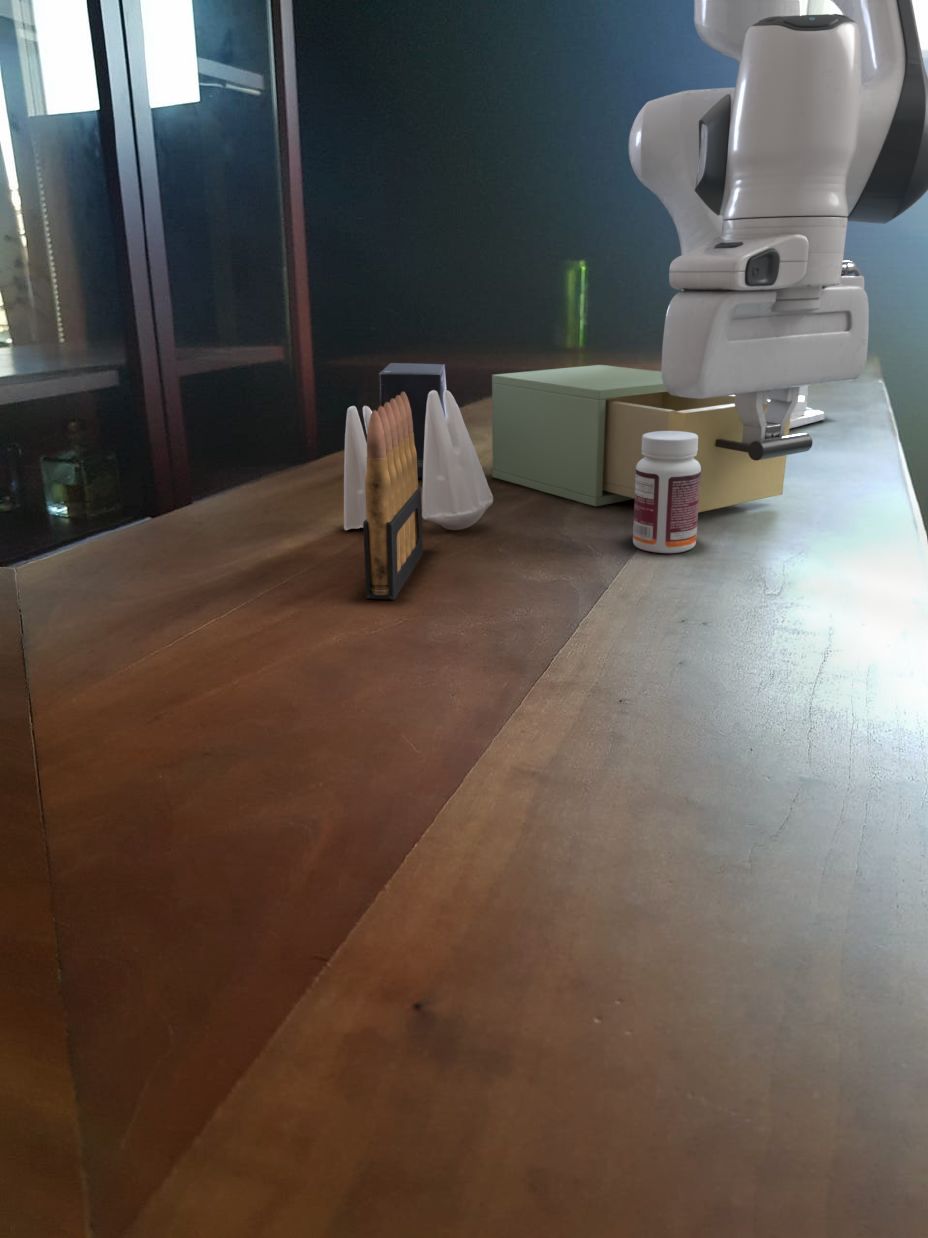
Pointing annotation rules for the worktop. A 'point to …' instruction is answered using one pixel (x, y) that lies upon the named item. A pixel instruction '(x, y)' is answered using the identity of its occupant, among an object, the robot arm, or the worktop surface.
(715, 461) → the drawer
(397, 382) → the small box
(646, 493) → the pill bottle
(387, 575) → the ammunition clip
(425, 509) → the shaker set
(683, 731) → the worktop surface
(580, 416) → the cabinet
